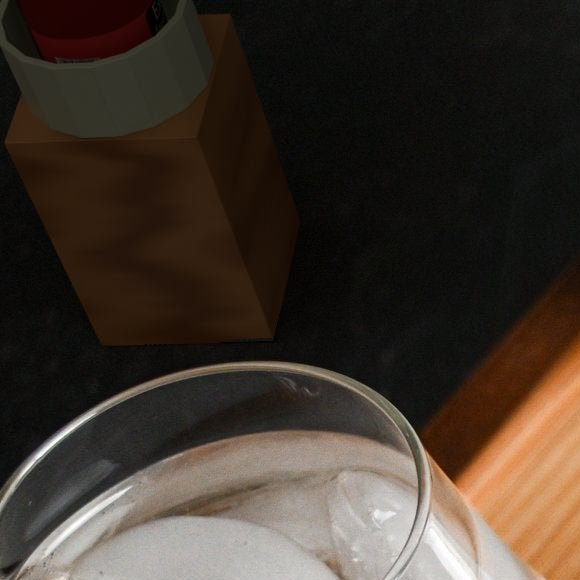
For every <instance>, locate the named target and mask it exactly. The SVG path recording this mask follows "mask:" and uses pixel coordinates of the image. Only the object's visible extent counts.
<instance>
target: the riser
mask: <svg viewBox="0 0 580 580" xmlns="http://www.w3.org/2000/svg"><path fill="white" fill-rule="evenodd" d="M198 17H199V20H200V23H201V26H202V29H203V31H204V34H205V37H206V40H207V43H208V45H209V48H210V51H211V54H212V57H213V60H214V63H213V67H212V71H211V74H210V78H209V82H208V85H207V86H206V88H205V89H204V90H203V91H202V92H201V93H200V94H199V95H198V97H197V98H196V99H195V100H194V101H193V102H192V103H191V104H190V106H189V107H188V108H187V109H185V110H183V111H182V112H180V113H178V114H176V115H175V116H173V117H171V118H170V119H168V120H166V121H165V122H163V123H161V124H159V125H158V126H155V127H152V128H149V129H145V130H142V131H138V132H135V133H131V134H128V135H124V136H121V137H102V138H80V137H76V136H73V135H69V134H65V133H62V132H58V131H54V130H52V129H50V128H49V127H47V126H46V125H45V124H44V123H43V122H41V121H40V120H39V119H38V118H37V117H35V116H34V115H33V114H32V113H31V112H30V110H29V108H28V105H27V103H26V101H25V99H24V97H23V95H22V93H21V94H20V96H19V100H18V102H17V105H16V108H15V112H14V113H13V117H12V120H11V122H10V126H9V127H8V130H7V134H6V136H5V139H4V146H5V148H6V150H7V152H8V154H9V156H10V158H11V161H12V162H13V165H14V167H15V168H16V171H17V173H18V175H19V177H20V179H21V181H22V183H23V186H24V187H25V190H26V192H27V193H28V196H29V198H30V199H31V201H32V204H33V206H34V209H35V210H36V212H37V214H38V217H39V219H40V220H41V223H42V225H43V227H44V229H45V231H46V233H47V235H48V237H49V239H50V241H51V243H52V246H53V248H54V250H55V252H56V254H57V256H58V258H59V260H60V263H61V264H62V267H63V268H64V270H65V273H66V275H67V277H68V279H69V281H70V283H71V285H72V287H73V289H74V292H75V294H76V295H77V298H78V300H79V302H80V304H81V307H82V308H83V310H84V312H85V314H86V316H87V319H88V321H89V323H90V325H91V327H92V329H93V330H94V332H95V335H96V337H97V340H98V341H99V343H100V345H101V347H125V346H126V347H127V346H128V347H129V346H165V345H164V344H166V346H167V345H169V344H171V345H203V344H204V345H206V344H207V345H208V344H209V345H210V344H222V343H221V342H226V341H232V340H236V339H244V338H245V339H249V338H250V339H257V338H265V339H266V338H273V337H274V334H275V329H276V326H277V322H278V319H279V320H280V317H279V314H280V315H281V313H280V311H281V312H282V308H283V304H282V302H283V303H284V298H285V294H286V289H287V286H288V281H289V276H290V271H291V267H292V262H293V257H294V253H295V249H296V244H297V241H298V235H299V230H300V226H301V223H302V221H301V219H300V216H299V213H298V210H297V207H296V204H295V200H294V198H293V195H292V191H291V189H290V185H289V184H288V183H289V182H288V180H287V177H286V175H285V171H284V168H283V165H282V162H281V160H280V156H279V154H278V150H277V148H276V144H275V142H274V138H273V136H272V132H271V130H270V127H269V124H268V120H267V118H266V115H265V112H264V108H263V106H262V103H261V100H260V97H259V95H258V91H257V88H256V85H255V83H254V79H253V77H252V74H251V70H250V68H249V65H248V62H247V59H246V56H245V53H244V50H243V47H242V44H241V41H240V38H239V35H238V32H237V30H236V26H235V23H234V20H233V18H232V15H231V13H216V14H215V13H213V14H198ZM281 307H282V308H281ZM278 323H279V322H278ZM277 327H278V326H277ZM145 344H147V345H145ZM150 344H151V345H150ZM154 344H156V345H154ZM159 344H161V345H159Z"/></svg>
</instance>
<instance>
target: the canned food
mask: <svg viewBox="0 0 580 580" xmlns="http://www.w3.org/2000/svg"><path fill="white" fill-rule="evenodd" d="M15 2H16V4H17V6H18V9H19V11H20V13H21V15H22V18H23V20H24V22H25V24H26V26H27V29H28V31H29V33H30V35H31V38H32V40H33V42H34V44H35V47H36V49H37V51H38V53H39V55H40V58H41V60H43V61H47V62H51V63H55V64H57V63H88V62H94V61H97V60H101V59H104V58H108V57H112V56H115V55H119V54H122V53H126V52H127V51H129V50H131V49H133V48H134V47H136V46H138V45H140V44H142V43H143V42H145V41H147V40H149V39H150V38H152V37H154V36H155V35H156V34H157V33H158V32H159V31H160V30H161V29H162V28H163V27H164V26H165V25H166V24H167V22H168V21H167V18H166V15H165V12H164V10H163V7H162V4H161V1H160V0H15Z"/></svg>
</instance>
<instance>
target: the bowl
mask: <svg viewBox="0 0 580 580" xmlns="http://www.w3.org/2000/svg"><path fill="white" fill-rule="evenodd" d="M160 1H161V4H162V7H163V10H164V12H165V15H166V18H167V21H168V22H167V24H166V25H165V26H164V27H163V28H162V29H161V30H160V31H159V32H158V33H157V34H156V35H155V36H154V37H152V38H150V39H149V40H147V41H145V42H143V43H142V44H140V45H138V46H136V47H134V48H133V49H131V50H129V51H127V52H126V53H122V54H119V55H115V56H112V57H108V58H104V59H101V60H97V61H94V62H88V63H57V64H55V63H51V62H47V61H43V60H41V58H40V55H39V53H38V51H37V49H36V47H35V44H34V42H33V40H32V38H31V35H30V33H29V31H28V29H27V26H26V24H25V22H24V20H23V18H22V15H21V13H20V11H19V9H18V6H17V4H16V2H15V0H0V49H1V52H2V53H3V56H4V58H5V59H6V63H7V64H8V66H9V69H10V70H11V72H12V76H13V77H14V79H15V81H16V83H17V86H18V89H19V90H20V92H21V94H22V95H23V97H24V99H25V101H26V103H27V105H28V108H29V110H30V112H31V113H32V114H33V115H34V116H35V117H37V118H38V119H39V120H40V121H41V122H43V123H44V124H45V125H46V126H47V127H49V128H50V129H52V130H54V131H58V132H62V133H65V134H69V135H73V136H76V137H80V138H102V137H121V136H124V135H128V134H131V133H135V132H138V131H142V130H145V129H149V128H152V127H155V126H158V125H159V124H161V123H163V122H165V121H166V120H168V119H170V118H171V117H173V116H175V115H176V114H178V113H180V112H182V111H183V110H185V109H187V108H188V107H189V106H190V104H191V103H192V102H193V101H194V100H195V99H196V98H197V97H198V95H199V94H200V93H201V92H202V91H203V90H204V89H205V88H206V86H207V85H208V82H209V78H210V74H211V71H212V67H213V63H214V60H213V57H212V54H211V51H210V48H209V45H208V43H207V40H206V37H205V34H204V31H203V29H202V26H201V23H200V20H199V17H198V15H199V14H198V11H197V9H196V6H195V4H194V1H193V0H160Z"/></svg>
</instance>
